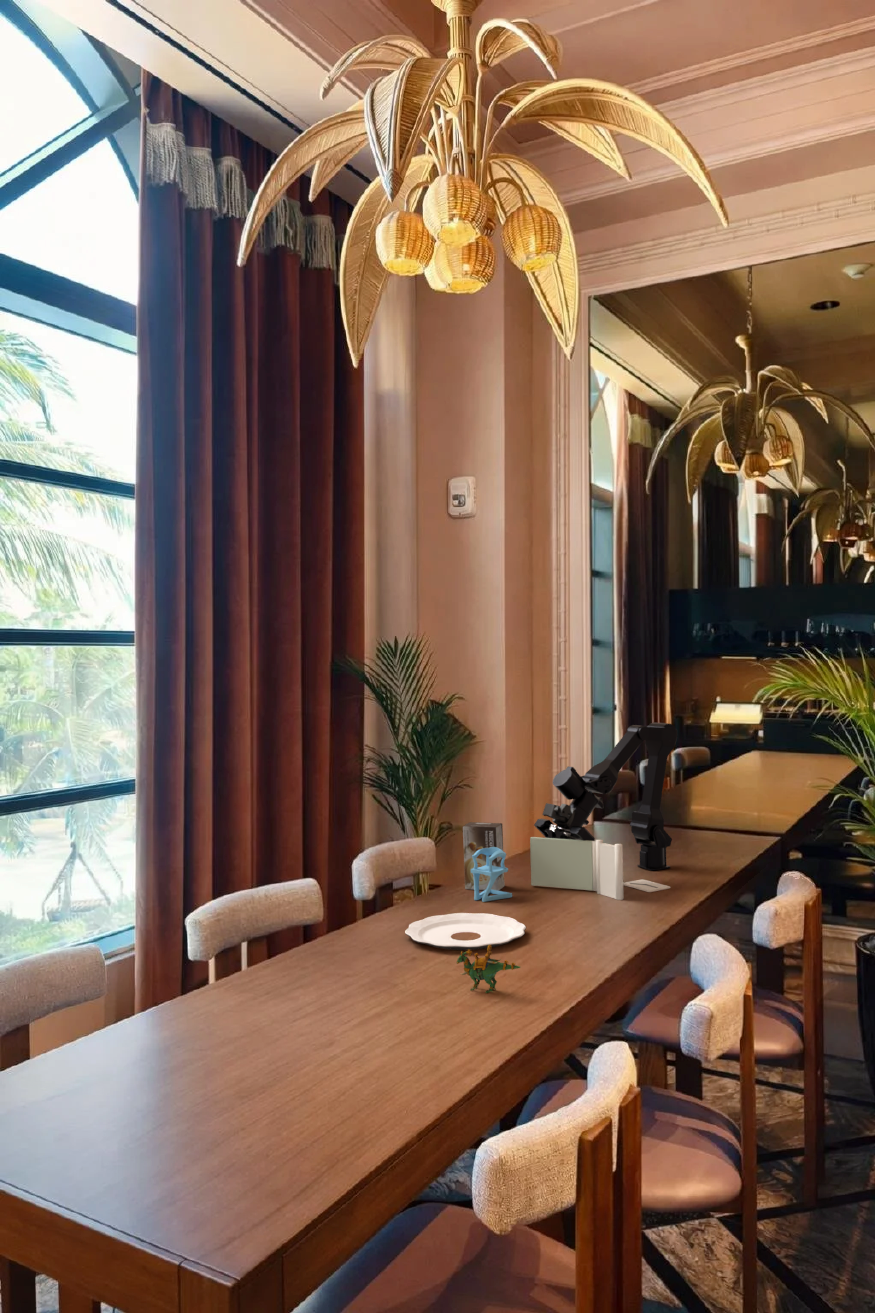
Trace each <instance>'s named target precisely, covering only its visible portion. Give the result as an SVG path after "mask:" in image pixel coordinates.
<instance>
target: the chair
mask: <svg viewBox="0 0 875 1313" xmlns="http://www.w3.org/2000/svg"><path fill="white" fill-rule="evenodd" d="M479 854H485V855H486V865H484V866H482V867H478V864H477V861H476V858H477V856H478V855H479ZM489 855H492V856H491V857H489ZM499 856H500V857H502V861H501V867H497V866H493V865H492V861H493V860H494V859H495V858H497V857H499ZM506 857H507V853H506V852H505V851H504V850H503V851H502V850H501V849H499V848H497V847H490V848H483V849H480V850H478V851H476V853H475V854H474V855H472V858H473V861H474V868H473V869H471V873H473V876H474V896H473V900H474V901H479V900H481V902H482V903H483V902H484V903H485V902H486V903H487V902H490V901H497V900H502V899H503V900H504V899H509V898H513V892H509V891H502V890H499V891H497V890H492V889H491V888H492V886H493V884H494V882H495V880H496V878H497V877H498V876H499V875H501V874H502V873H504V874H505V873H507V872H509V867H506V866H505V860H506ZM477 867H478V868H477ZM480 874H484V875H487V876H490V882H489V884H488V887H487V889H486V890H482V891H480V890H479V876H480ZM489 894H493V895H489Z"/></svg>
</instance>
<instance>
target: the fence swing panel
mask: <svg viewBox="0 0 875 1313" xmlns="http://www.w3.org/2000/svg"><path fill="white" fill-rule="evenodd" d="M529 840H530V841H529V844H530V846H529V849H530V885H531V886H533V887H534V886H536V887H548V888H549V887H550V888H559V889H560V888H561V889H573V890H582V891H583V890H585V891H595V892H597V878H596V840H595V841H588V840H586V841H583V840H572V839H556V838H546V837H540V836H539V837H538V836H537V837H536V836H531V837H529Z"/></svg>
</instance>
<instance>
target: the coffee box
mask: <svg viewBox="0 0 875 1313" xmlns="http://www.w3.org/2000/svg"><path fill="white" fill-rule="evenodd" d="M503 832H504V831H503V823H501V822H500V823H499V822H479V821H478V822H472V821H470V822H468V823H465V825H463V826H462V837H463V839H462V840H463V841H462V842H463V844H462V845H463V866H464V867H463V868H464V870H463V871H464V889H465V890H474V876H473V873H471V869H473V868H474V861H473V858H472V855H474V854H475V853H476V851H478V850H480V849H483V848H490V847H497V848H499V849H501V850H502V851H504V835H503ZM491 856H492V855H489V857H491ZM476 861H477V864H478V867H482V866H484V865H486V855H485V854H479V855H478V856H477V858H476ZM501 861H502V857H500V856H499V857H497V858H495V859H494V860H493V861H492V865H493V866H497V867H501ZM478 867H477V868H478ZM489 882H490V876H487V875H484V874H480V876H479V891H484V890H486V889H487V887H488V884H489ZM504 887H505V872H504V873H502V874H501V875H499V876H498V877H497V878H496V880H495V882H494V884H493V886H492V888H491V889H492V890H497V891H501V889H503V888H504Z"/></svg>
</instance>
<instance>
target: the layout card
mask: <svg viewBox="0 0 875 1313" xmlns="http://www.w3.org/2000/svg"><path fill="white" fill-rule="evenodd" d="M623 886H625V887H629V888H632V889H633V888H634V889H637V890H639V891H643V892H647V893H652V892H657V891H663V890H668V889H671V886H669V885H666V884H662V883H659V882H654V881H650V880H647V879H642V878H641V879H638V880H637V879H636V880H630V881H626V882H624V881H623Z"/></svg>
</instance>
